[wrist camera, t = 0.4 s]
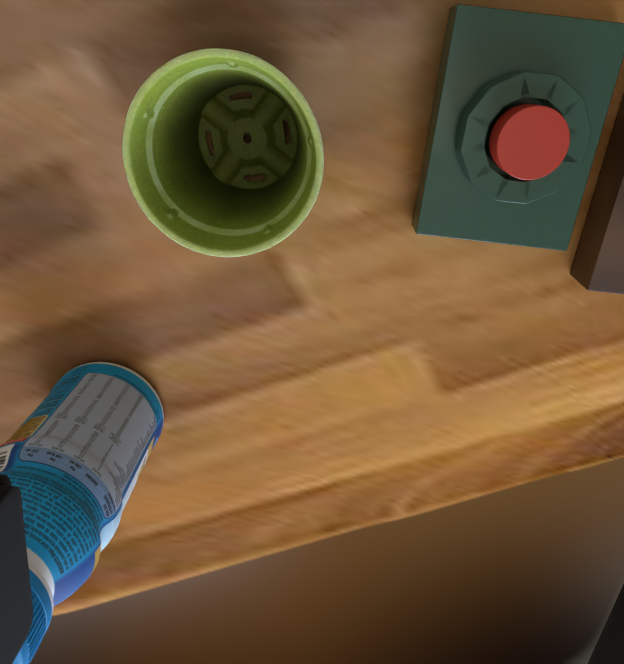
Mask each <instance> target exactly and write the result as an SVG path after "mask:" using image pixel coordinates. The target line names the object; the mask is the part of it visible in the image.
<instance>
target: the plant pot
mask: <svg viewBox="0 0 624 664" xmlns="http://www.w3.org/2000/svg"><path fill="white" fill-rule="evenodd" d="M239 92H249V93H251V94H252V98H251V99H248V98H246V99H237V100H232V101H231V100H230V99H229V98H231V96H232V95H234V94H236V93H239ZM283 120H285V121H286V122H288V125H289V128H290V134H291V141H290V142H289V143H288V144H286V143H285V131H284V126H283V122H282V121H283ZM208 131H209V132H211V138H212V144H213V149H214V152H215V154H214V155H212V154H210V153H209V149H208V145H207V143H206V133H207V132H208ZM245 134H249V135H250V136H251V142H250V143H246V142H244V138H243V137H244V135H245ZM122 156H123V163H124V168H125V172H126V176H127V180H128V183H129V185H130V188H131V190H132V192H133V195H134V196H135V198H136V200H137V202H138V204H139V206H140V207H141V209H142V210H143V212H144V213H145V214H146V216H147V217H148V219H149V220H150V221H151V222H152V223H153V224H154V225H156V226H157V228H158V229H159V230H161V231H162V232H163V233H164V234H165V235H166V236H168V237H169V238H171V239H172V240H173V241H175V242H177V243H179V244H180V245H182V246H184V247H186V248H188V249H190V250H193V251H196V252H199V253H202V254H206V255H211V256H218V257H238V256H245V255H250V254H254V253H258V252H260V251H263V250H266V249H268V248H270V247H272V246H274V245H276V244H277V243H279V242H281V241H282V240H284V239H285V238H286V237H288V236H289V235H290V234H291V233H292V232H293V231H294V230H296V229H297V227H298V226H299V225H300V224H301V223H302V222H303V221H304V219H305V218H306V217H307V215H308V214H309V212H310V210H311V209H312V207H313V205H314V203H315V201H316V199H317V196H318V193H319V190H320V187H321V183H322V177H323V170H324V150H323V143H322V138H321V133H320V130H319V126H318V123H317V121H316V118H315V116H314V114H313V111H312V109H311V108H310V106H309V104H308V102H307V101H306V99H305V98H304V96H303V95H302V93H301V92H300V91H299V89H298V88H297V87H296V86H295V85H294V83H293V82H292V81H291V80H290V79H289V78H288V77H287V76H286V75H284V74H283V73H282V72H281V71H279V70H278V69H277V68H275V67H274V66H273V65H271V64H269V63H268V62H266V61H264V60H262V59H261V58H259V57H256V56H254V55H251V54H248V53H245V52H241V51H237V50H231V49H220V48H211V49H202V50H196V51H193V52H189V53H186V54H183V55H180V56H178V57H176V58H174V59H172V60H170V61H169V62H167V63H166V64H164V65H163V66H161V67H160V68H159V69H157V70H156V71H155V72H154V73H153V74H152V75H150V77H149V78H148V79H147V80H146V81H145V82H144V83H143V85H142V86H141V87H140V89H139V90H138V92H137V93H136V95H135V97H134V99H133V101H132V103H131V105H130V107H129V110H128V113H127V116H126V120H125V124H124V130H123V138H122ZM262 173H264V174H265V175H266V177H265V178H264V179H263V180H261V181H252V182H250V181H246V180H245V179H244V176H245V175H252V176H253V175H259V174H262Z"/></svg>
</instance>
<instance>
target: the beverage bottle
mask: <svg viewBox="0 0 624 664" xmlns="http://www.w3.org/2000/svg"><path fill="white" fill-rule="evenodd" d="M163 422H164V413H163V408H162V404H161V401H160V399H159V397H158V395H157V393H156V391H155V390H154V389H153V387H152V386H151V385H150V384H149V383H148V382H147V381H146V380H145V379H144V378H143V377H142V376H140V375H139V374H138V373H136V372H134V371H133V370H131V369H129V368H126V367H124V366H121V365H118V364H114V363H108V362H92V363H87V364H83V365H80V366H77V367H75V368H73V369H72V370H70V371H69V372H67V373H66V374H65V375H64V376H63V377H62V378H61V379H60V380H59V381H58V382H57V383H56V385H55V386H54V387H53V389H52V390H51V392H50V393H49V395H48V396H47V397H46V398H45V399H44V401H43V402H42V403H41V404H40V405H39V406H38V407H37V408H36V410H35V411H34V412H33V413H32V414H31V415H30V416H29V417H28V418H27V419H26V421H25V422H24V423H23V424H22V425H21V426H20V427H19V428H18V429H17V430H16V431H15V433H14V434H13V435H12V436H11V437H10V438H9V439H8V440H7V441H6V442H5V443H4V444H2V445H0V474H3V475H7V476H8V477H9V479H10V481H11V485H12V486H17V487H19V489H20V492H21V498H22V508H23V518H24V527H25V537H26V547H27V557H28V566H29V576H30V586H31V596H32V605H33V619H32V624H31V628H30V631H29V634H28V636H27V638H26V640H25V642H24V644H23V646H22V647H21V649H20V651H19V653H18V655H17V656H16V658H15V660H14V662H13V664H30V662H31V660H32V658H33V656H34V654H35V652H36V651H37V649H38V647H39V645H40V643H41V641H42V639H43V637H44V635H45V633H46V631H47V629H48V627H49V624H50V621H51V617H52V612H53V607H54V606H55V605H57V604H59V603H60V602H62V601H63V600H65V599H66V598H68V597H69V596H70V595H71V594H73V593H74V592H75V591H76V590H77V589H78V588H79V587H80V586H81V585H82V584H83V583H84V582H85V581H86V580H87V579H88V578H89V576H90V575H91V574H92V572H93V571H94V569H95V567H96V565H97V563H98V560H99V557H100V552H101V551H102V550H103V549H104V548H105V547H106V545H107V544H108V543H109V541H110V540H111V538H112V537H113V535H114V533H115V531H116V529H117V527H118V525H119V522H120V519H121V514H122V511H123V509H124V507H125V505H126V503H127V501H128V499H129V497H130V494H131V492H132V490H133V488H134V486H135V484H136V482H137V480H138V478H139V476H140V474H141V472H142V470H143V467H144V465H145V463H146V461H147V459H148V457H149V455H150V453H151V451H152V449H153V447H154V446H155V444H156V442H157V440H158V438H159V436H160V434H161V431H162V428H163Z"/></svg>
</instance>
